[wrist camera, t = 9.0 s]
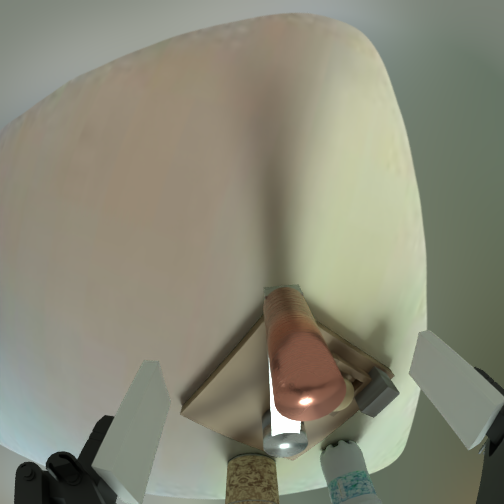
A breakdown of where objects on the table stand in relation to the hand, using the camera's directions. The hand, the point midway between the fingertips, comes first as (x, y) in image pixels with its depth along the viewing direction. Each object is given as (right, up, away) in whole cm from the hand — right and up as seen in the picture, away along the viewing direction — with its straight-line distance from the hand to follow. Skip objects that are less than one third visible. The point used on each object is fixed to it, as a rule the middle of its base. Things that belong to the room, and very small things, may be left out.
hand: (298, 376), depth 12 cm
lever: (+1, -6, +12) cm, 14 cm away
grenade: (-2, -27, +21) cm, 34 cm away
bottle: (+11, -24, +20) cm, 33 cm away
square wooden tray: (+2, -11, +17) cm, 20 cm away
